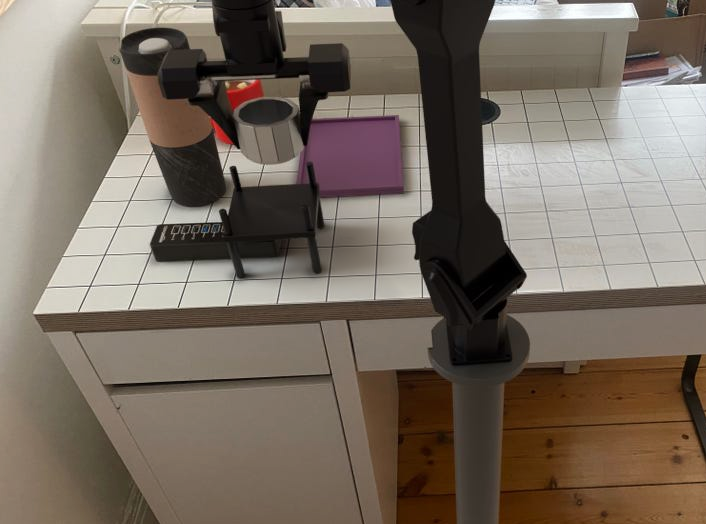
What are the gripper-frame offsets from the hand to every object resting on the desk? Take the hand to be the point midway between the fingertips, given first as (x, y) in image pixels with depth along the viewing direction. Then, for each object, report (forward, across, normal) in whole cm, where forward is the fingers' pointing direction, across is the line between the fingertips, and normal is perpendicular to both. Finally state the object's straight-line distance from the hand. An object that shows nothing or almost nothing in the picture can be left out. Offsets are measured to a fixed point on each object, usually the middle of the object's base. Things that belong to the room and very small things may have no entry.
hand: (273, 145), depth 83 cm
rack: (+13, +1, +2) cm, 13 cm away
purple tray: (+13, -7, -19) cm, 24 cm away
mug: (+13, +11, -28) cm, 33 cm away
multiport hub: (+13, +9, +1) cm, 16 cm away
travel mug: (+13, +13, -12) cm, 22 cm away
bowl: (0, 0, 0) cm, 0 cm away
